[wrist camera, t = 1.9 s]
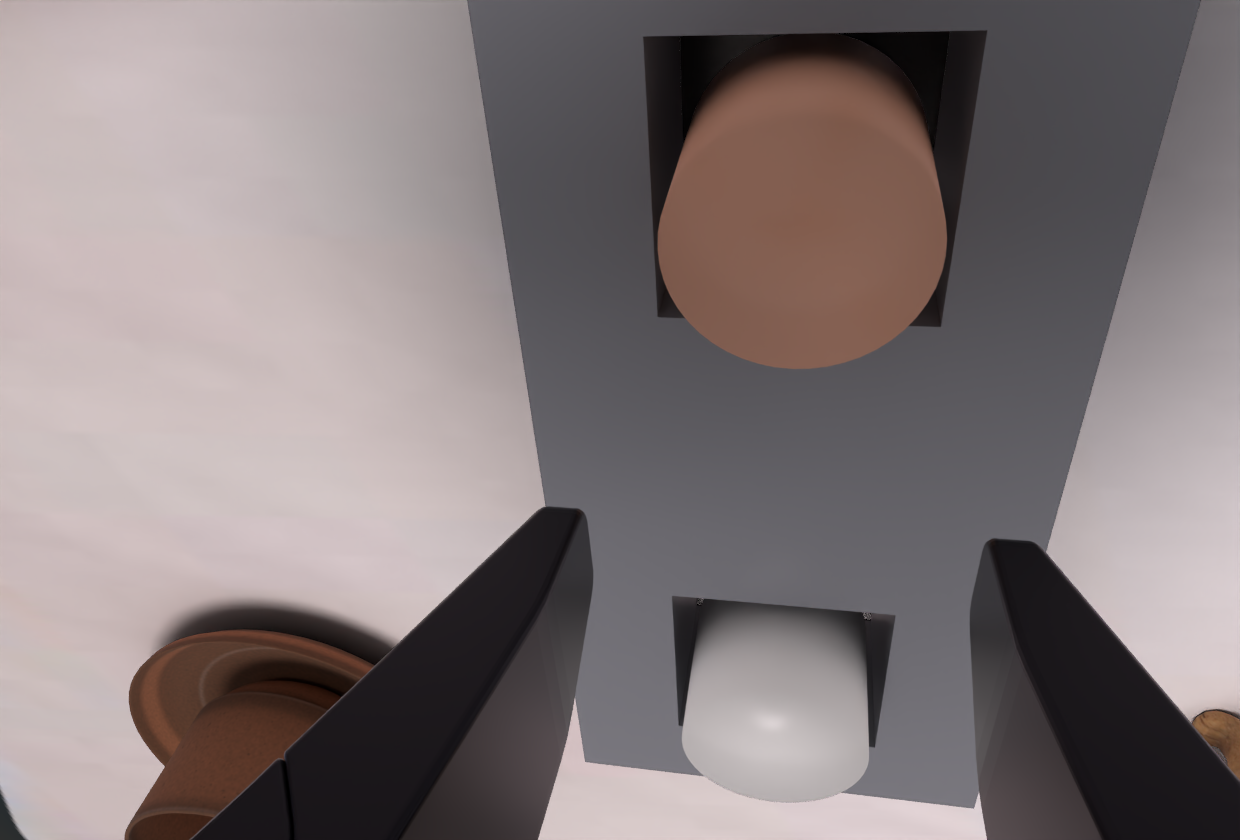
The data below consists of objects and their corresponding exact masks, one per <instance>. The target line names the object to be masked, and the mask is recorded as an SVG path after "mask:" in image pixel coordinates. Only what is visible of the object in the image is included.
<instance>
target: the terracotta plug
mask: <svg viewBox="0 0 1240 840" xmlns="http://www.w3.org/2000/svg"><path fill="white" fill-rule="evenodd" d="M946 247H947V229H946V219H945V213H944V208H943V203H942V198H941V193H940V187H939V182H938V177H937V172H936V167H935V161H934V156H933V151H932V146H931V141H930V135H929V130H928V125H927V120H926V116H925V112H924V108H923V106H922V103H921V100H920V98H919V95H918V93H917V92H916V90H915V88H914V86H913V85H912V83H911V81H910V80H909V79H908V77H907V76H906V75H905V74H904V72H903V71H902V70H901V69H900V67H898V66H897V65H896V64H895V63H894V62H893V61H892V60H891V59H890V58H889V57H887V56H886V55H885V54H883V53H882V52H880V51H879V50H877V49H876V48H874V47H872V46H870V45H868V44H866V43H864V42H862V41H860V40H857V39H854V38H851V37H848V36H845V35H840V34H835V33H810V34H786V35H781V36H777V37H774V38H771V39H769V40H766V41H763V42H761V43H759V44H757V45H755V46H753V47H751V48H749V49H747V50H745V51H744V52H742V53H741V54H740V55H738V56H737V57H735V58H734V59H732V60H731V61H730V62H729V63H728V64H727V65H726V66H725V67H723V68H722V69H721V70H720V71H719V72H718V74H717V75H716V76H715V77H714V78H713V80H712V81H711V82H710V83H709V85H708V86H707V88H706V89H705V91H704V92H703V94H702V96H701V98H700V100H699V102H698V104H697V106H696V108H695V110H694V114H693V117H692V120H691V123H690V126H689V129H688V132H687V135H686V139H685V142H684V145H683V148H682V151H681V154H680V157H679V160H678V164H677V167H676V170H675V173H674V176H673V179H672V182H671V185H670V189H669V192H668V195H667V198H666V201H665V204H664V207H663V211H662V214H661V217H660V223H659V229H658V257H659V265H660V269H661V272H662V276H663V280H664V282H665V285H666V287H667V290H668V292H669V294H670V296H671V298H672V300H673V301H674V303H675V305H676V306H677V308H678V310H679V311H680V312H681V313H682V315H683V316H684V317H685V318H686V320H687V321H688V322H689V323H690V324H691V325H692V326H693V327H694V328H695V329H696V330H697V331H698V332H699V333H700V334H701V335H703V336H704V337H705V338H707V339H708V340H709V341H710V342H712V343H713V344H715V345H717V346H718V347H720V348H722V349H723V350H725V351H727V352H729V353H731V354H733V355H735V356H738V357H740V358H742V359H745V360H748V361H751V362H754V363H757V364H762V365H766V366H771V367H777V368H788V369H812V368H820V367H828V366H832V365H837V364H841V363H845V362H848V361H851V360H854V359H857V358H860V357H862V356H864V355H866V354H868V353H870V352H872V351H875V350H877V349H878V348H880V347H881V346H883V345H885V344H886V343H888V342H889V341H891V340H892V339H894V338H895V337H896V336H897V335H899V334H900V333H901V332H902V331H904V330H905V329H906V328H907V327H908V326H909V325H910V324H911V323H912V322H913V321H914V320H915V319H916V318H917V316H918V315H919V314H920V312H921V311H922V310H923V308H924V307H925V306H926V304H927V303H928V301H929V299H930V298H931V296H932V294H933V292H934V290H935V289H936V286H937V284H938V281H939V279H940V276H941V273H942V270H943V266H944V261H945V257H946Z"/></svg>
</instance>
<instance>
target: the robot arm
mask: <svg viewBox="0 0 1240 840" xmlns="http://www.w3.org/2000/svg"><path fill="white" fill-rule="evenodd" d="M592 590H593V563H592V555H591V546H590V538H589V530H588V522H587V518H586V515H585V513H584V512H583V511H582V510H580V509H578V508H565V507H551V506H547V507H543V508H541V509H539V510H538V511H537V512H535V513H534V514H533V515H532V516H531V517H530V518H529V519H528V520H527V521H526V522H525V523H524V524H523V525H522V526H521V527H520V528H519V529H518V530H517V531H516V532H515V533H513V534H512V535H511V536H510V537H509V538H508V539H507V540H506V541H505V542H504V543H503V544H502V545H501V546H500V547H499V548H498V549H497V550H496V551H495V552H494V553H492V554H491V555H490V556H489V557H488V558H487V559H486V560H485V561H484V562H483V563H482V564H481V565H480V566H479V567H478V568H477V569H476V570H475V571H474V572H473V573H471V574H470V575H469V576H468V577H467V578H466V579H465V580H464V581H463V582H462V583H461V584H460V585H459V586H458V587H457V588H456V589H455V590H454V591H453V592H452V593H451V594H449V595H448V596H447V597H446V598H445V599H444V600H443V601H442V602H441V603H440V604H439V605H438V606H437V607H436V608H435V609H434V610H433V611H432V612H431V613H430V614H428V615H427V616H426V617H425V618H424V619H423V620H422V621H421V622H420V623H419V624H418V625H417V626H416V627H415V628H414V629H413V630H412V631H411V632H410V633H409V634H408V635H406V636H405V637H404V638H403V639H402V640H401V641H400V642H399V643H398V644H397V645H396V646H395V647H394V648H393V649H392V650H391V651H390V652H389V653H388V654H387V655H385V656H384V657H383V658H382V659H381V660H380V661H379V662H378V663H377V664H376V665H375V666H374V667H373V668H372V669H371V670H370V671H369V672H368V673H367V674H366V675H365V676H363V677H362V678H361V679H360V680H359V681H358V682H357V683H356V684H355V685H354V686H353V687H352V688H351V689H350V690H349V691H348V692H347V693H346V694H345V695H344V696H342V697H341V698H340V699H339V700H338V701H337V702H336V703H335V704H334V705H333V706H332V707H331V708H330V709H329V710H328V711H327V712H326V713H325V714H324V715H323V716H322V717H320V718H319V719H318V720H317V721H316V722H315V723H314V724H313V725H312V726H311V727H310V728H309V729H308V730H307V731H306V732H305V733H304V734H303V735H302V736H301V737H299V738H298V739H297V740H296V741H295V742H294V743H293V744H292V745H291V746H290V747H289V748H288V749H287V750H286V751H285V753H284V760H283V759H281V758H278V759H276V760H275V761H274V762H273V763H272V764H271V765H270V766H269V767H268V768H266V769H265V770H264V771H263V772H262V773H261V774H260V775H259V776H258V777H257V778H256V779H255V780H254V781H253V782H252V783H251V784H250V785H249V786H248V787H247V788H245V789H244V790H243V791H242V792H241V793H240V794H239V795H238V796H237V797H236V798H235V799H233V800H232V801H231V802H230V803H229V804H228V805H227V806H226V807H225V808H224V809H222V810H221V811H220V812H219V813H218V814H217V815H216V816H215V817H214V818H213V819H211V820H210V821H209V822H208V823H207V824H206V825H205V826H204V827H203V828H202V829H201V830H199V831H198V832H197V833H196V834H195V835H194V836H193V837H192V838H191V839H189V840H538V837H539V834H540V830H541V827H542V824H543V820H544V817H545V814H546V810H547V807H548V803H549V800H550V797H551V793H552V790H553V786H554V783H555V780H556V776H557V773H558V769H559V766H560V763H561V759H562V755H563V751H564V748H565V744H566V740H567V736H568V731H569V725H570V720H571V715H572V710H573V704H574V698H575V692H576V686H577V680H578V674H579V669H580V663H581V657H582V651H583V645H584V639H585V633H586V627H587V621H588V615H589V609H590V603H591V597H592ZM970 645H971V665H972V685H973V706H974V726H975V746H976V762H977V775H978V786H979V793H980V800H981V807H982V813H983V819H984V824H985V830H986V836H987V840H1240V780H1239V779H1238V777H1237V776H1236V775H1235V774H1234V773H1233V772H1232V770H1231V769H1230V768H1229V767H1228V766H1227V765H1226V763H1225V762H1224V761H1223V760H1222V759H1221V758H1220V756H1219V755H1218V754H1217V753H1216V752H1215V750H1214V749H1213V748H1212V747H1211V746H1210V745H1209V743H1208V742H1207V741H1206V740H1205V739H1204V738H1203V736H1202V735H1201V734H1200V733H1199V732H1198V731H1197V729H1196V728H1195V727H1194V726H1193V725H1192V724H1191V722H1190V721H1189V720H1188V719H1187V718H1186V716H1185V715H1184V714H1183V713H1182V712H1181V711H1180V709H1179V708H1178V707H1177V706H1176V705H1175V704H1174V702H1173V701H1172V700H1171V699H1170V698H1169V697H1168V695H1167V694H1166V693H1165V692H1164V691H1163V689H1162V688H1161V687H1160V686H1159V685H1158V684H1157V682H1156V681H1155V680H1154V679H1153V678H1152V677H1151V675H1150V674H1149V673H1148V672H1147V671H1146V670H1145V668H1144V667H1143V666H1142V665H1141V664H1140V663H1139V661H1138V660H1137V659H1136V658H1135V657H1134V655H1133V654H1132V653H1131V652H1130V651H1129V650H1128V648H1127V647H1126V646H1125V645H1124V644H1123V643H1122V641H1121V640H1120V639H1119V638H1118V637H1117V636H1116V634H1115V633H1114V632H1113V631H1112V630H1111V628H1110V627H1109V626H1108V625H1107V624H1106V623H1105V621H1104V620H1103V619H1102V618H1101V617H1100V616H1099V614H1098V613H1097V612H1096V611H1095V610H1094V609H1093V607H1092V606H1091V605H1090V604H1089V603H1088V602H1087V600H1086V599H1085V598H1084V597H1083V596H1082V594H1081V593H1080V592H1079V591H1078V590H1077V589H1076V587H1075V586H1074V585H1073V584H1072V583H1071V582H1070V580H1069V579H1068V578H1067V577H1066V576H1065V575H1064V573H1063V572H1062V571H1061V570H1060V569H1059V567H1058V566H1057V565H1056V564H1055V563H1054V562H1053V560H1052V559H1051V558H1050V557H1049V556H1048V555H1047V553H1046V552H1045V551H1044V550H1043V549H1042V548H1041V547H1040V546H1039V545H1038V544H1036V543H1035V542H1032V541H1026V540H1012V539H999V538H993V539H990V540H989V541H987V542H986V543H985V545H984V547H983V550H982V554H981V559H980V563H979V568H978V572H977V577H976V581H975V585H974V590H973V594H972V599H971V606H970Z"/></svg>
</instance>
